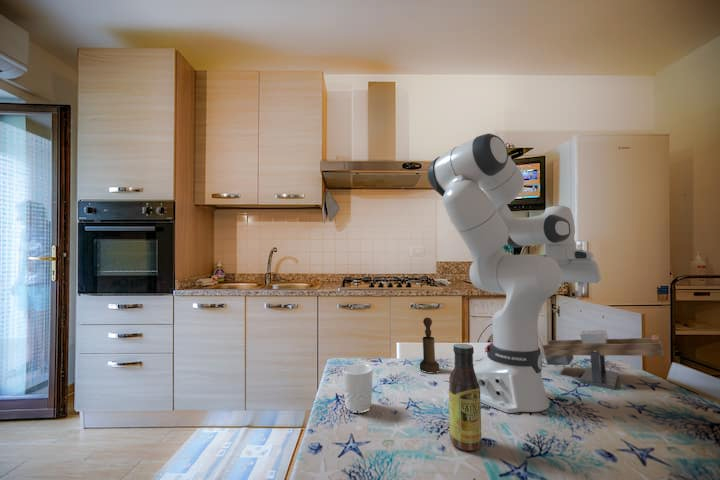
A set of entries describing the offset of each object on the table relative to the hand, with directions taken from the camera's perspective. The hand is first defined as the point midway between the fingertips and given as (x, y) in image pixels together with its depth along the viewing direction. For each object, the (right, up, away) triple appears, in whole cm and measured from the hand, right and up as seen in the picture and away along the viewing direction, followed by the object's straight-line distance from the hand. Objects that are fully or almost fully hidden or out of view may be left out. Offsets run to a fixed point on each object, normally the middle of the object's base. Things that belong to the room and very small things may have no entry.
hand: (563, 295), depth 103 cm
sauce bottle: (-46, -24, -39) cm, 65 cm away
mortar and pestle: (-44, -27, +4) cm, 51 cm away
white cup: (-68, -26, -22) cm, 76 cm away
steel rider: (+6, -15, -6) cm, 17 cm away
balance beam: (+7, -19, -8) cm, 22 cm away
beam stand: (+6, -25, -7) cm, 26 cm away
